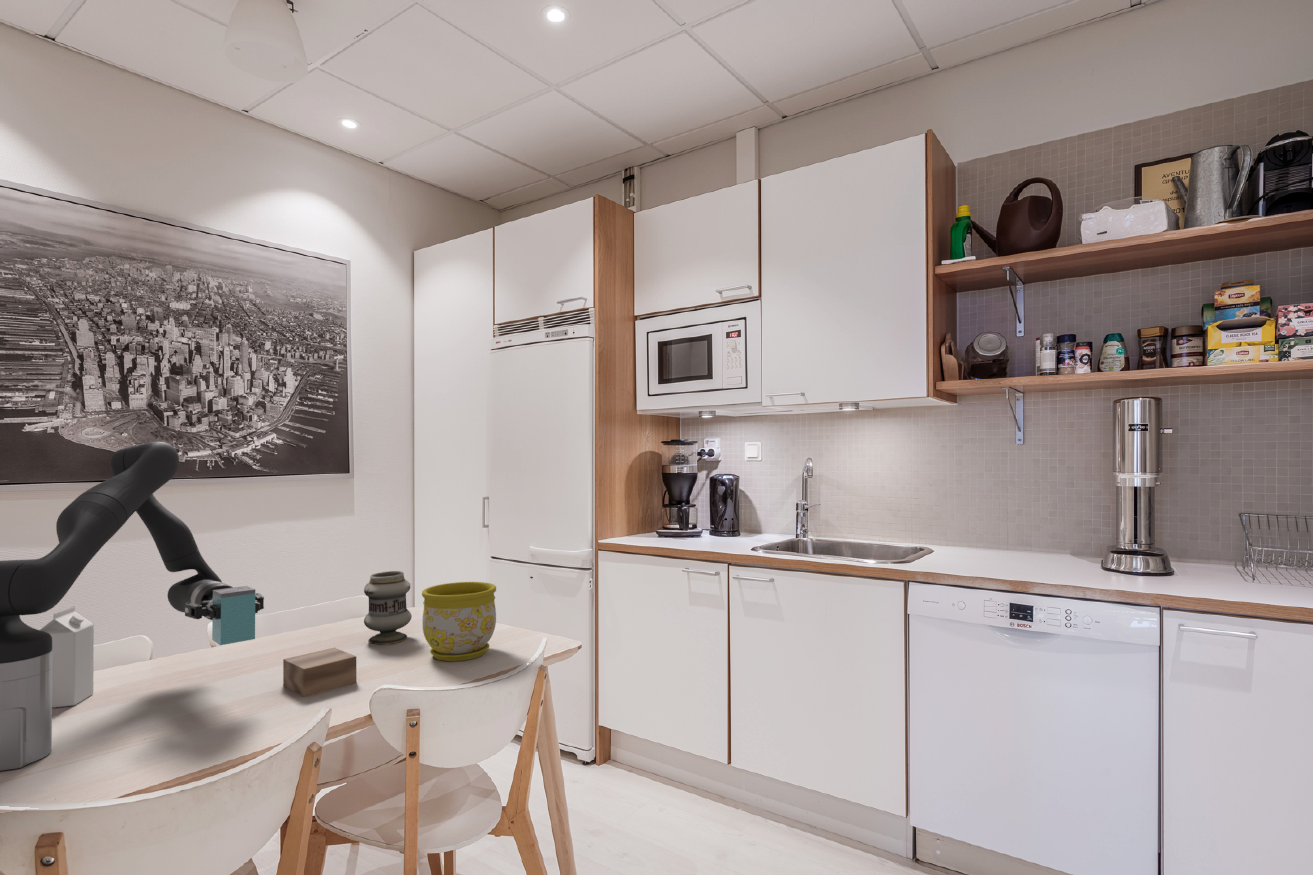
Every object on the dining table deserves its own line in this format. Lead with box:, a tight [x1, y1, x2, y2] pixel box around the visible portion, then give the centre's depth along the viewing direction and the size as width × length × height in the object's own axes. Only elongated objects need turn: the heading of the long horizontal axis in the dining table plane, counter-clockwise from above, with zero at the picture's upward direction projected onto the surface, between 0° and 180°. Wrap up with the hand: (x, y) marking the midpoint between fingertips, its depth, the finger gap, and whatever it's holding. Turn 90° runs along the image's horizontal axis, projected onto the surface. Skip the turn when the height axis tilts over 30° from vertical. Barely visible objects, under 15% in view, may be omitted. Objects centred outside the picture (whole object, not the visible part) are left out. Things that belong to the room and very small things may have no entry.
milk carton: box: [39, 606, 95, 709], centre depth 137 cm, size 7×7×19 cm
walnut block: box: [282, 647, 357, 698], centre depth 146 cm, size 11×11×6 cm
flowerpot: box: [421, 581, 497, 662], centre depth 167 cm, size 18×18×16 cm
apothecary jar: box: [363, 570, 412, 646], centre depth 181 cm, size 12×12×18 cm
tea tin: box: [211, 585, 256, 646], centre depth 134 cm, size 6×6×10 cm
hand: (237, 610), depth 133 cm, fingers closed on tea tin, 6 cm apart
